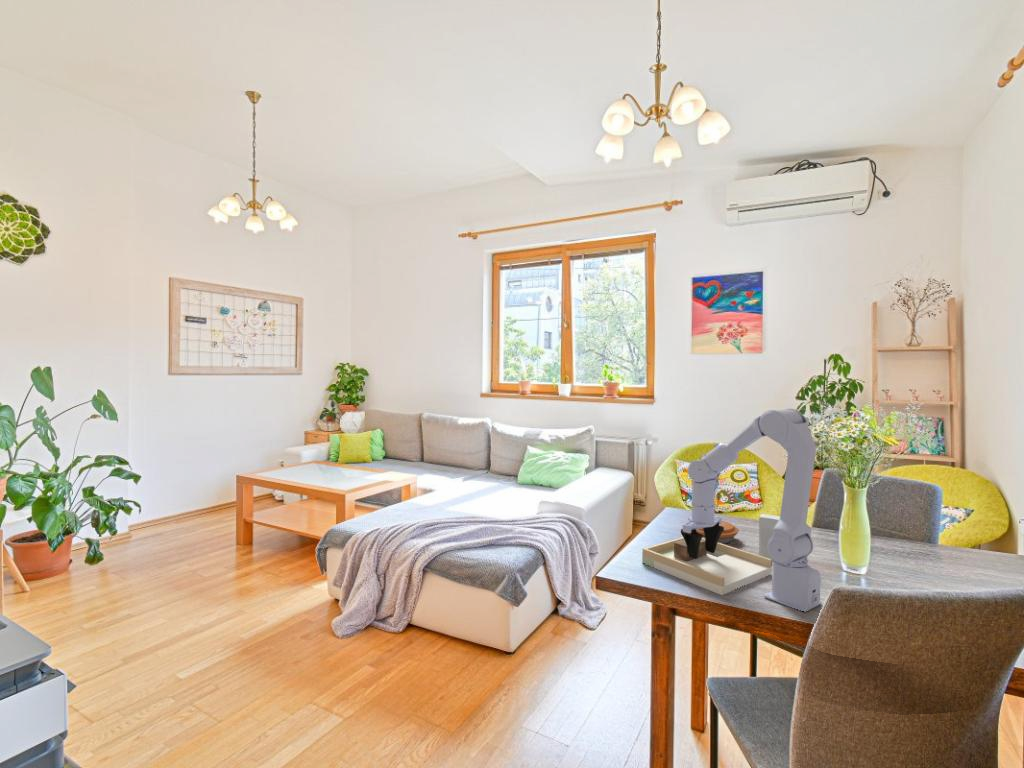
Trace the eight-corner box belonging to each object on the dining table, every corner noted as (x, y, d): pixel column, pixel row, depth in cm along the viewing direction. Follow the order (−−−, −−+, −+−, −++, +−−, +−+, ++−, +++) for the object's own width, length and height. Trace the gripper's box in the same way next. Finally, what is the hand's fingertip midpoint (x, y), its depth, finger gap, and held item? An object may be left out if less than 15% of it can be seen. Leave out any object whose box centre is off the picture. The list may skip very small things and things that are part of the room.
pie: (731, 550, 152) (731, 533, 152) (678, 539, 162) (679, 523, 161) (743, 537, 164) (744, 521, 164) (694, 527, 174) (695, 512, 174)
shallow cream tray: (771, 574, 134) (771, 559, 134) (721, 595, 122) (722, 578, 121) (691, 547, 154) (692, 534, 154) (642, 563, 141) (642, 548, 141)
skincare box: (783, 558, 146) (784, 516, 145) (782, 563, 142) (783, 520, 142) (759, 554, 149) (760, 513, 148) (758, 559, 145) (759, 516, 145)
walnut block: (706, 554, 142) (707, 540, 142) (686, 561, 137) (686, 546, 137) (694, 550, 146) (694, 536, 146) (673, 557, 140) (674, 542, 140)
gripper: (706, 497, 145) (705, 545, 146) (673, 505, 137) (672, 555, 138) (729, 503, 140) (727, 552, 140) (696, 511, 131) (695, 563, 132)
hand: (701, 554), depth 138 cm, fingers open, 7 cm apart
